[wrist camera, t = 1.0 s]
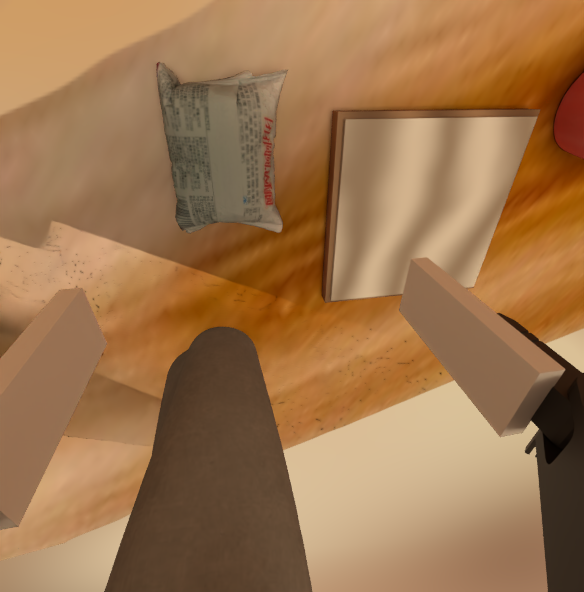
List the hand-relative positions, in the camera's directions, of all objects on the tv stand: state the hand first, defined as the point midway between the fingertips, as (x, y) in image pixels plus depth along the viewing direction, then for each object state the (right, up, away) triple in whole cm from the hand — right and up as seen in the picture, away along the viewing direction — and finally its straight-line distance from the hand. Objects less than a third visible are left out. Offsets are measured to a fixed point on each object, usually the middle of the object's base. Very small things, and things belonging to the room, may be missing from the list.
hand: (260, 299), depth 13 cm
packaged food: (-3, +10, +16) cm, 19 cm away
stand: (+14, +9, +18) cm, 24 cm away
